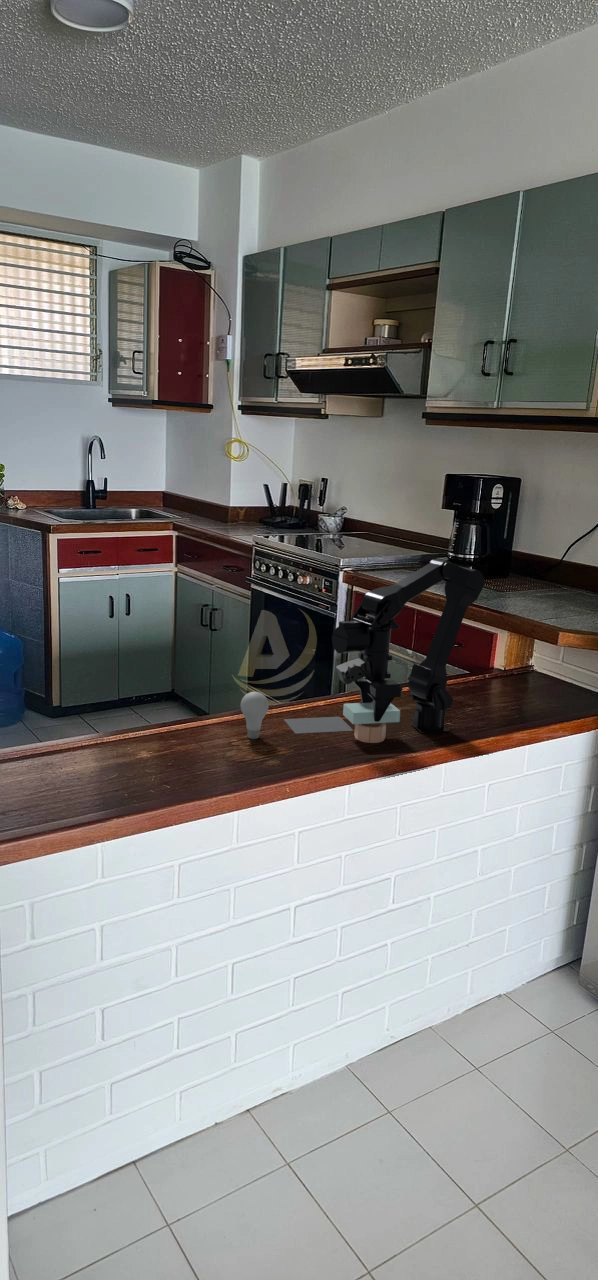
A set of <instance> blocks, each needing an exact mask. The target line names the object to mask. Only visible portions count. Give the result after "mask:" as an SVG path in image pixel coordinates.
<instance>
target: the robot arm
mask: <svg viewBox="0 0 598 1280" xmlns="http://www.w3.org/2000/svg"><path fill="white" fill-rule="evenodd" d="M485 580H486V579H485V578H484V575H483V573H482V572H481V571H480V570H478V569H474V568H469V567H465V566H460V565H459V566H458V565H456V564H454V563H452V562H451V561H449V560H444V559H442V558H441V559H440V558H434V559H431V560H430V561H429V563H427V564H426V565H424V566H423V567H421V568H420V569H417V570H416V571H414V572H413V573H410V574H409V575H408V576H406V577H404V578H402V579H401V580H399V581H397V582H396V583H394V584H392V585H387V586H380V587H378V588H374V589H373V590H370V591H368V592H366V593H365V594H364V595H363V597H362V598H363V599H362V601H361V603H360V604H359V606H358V607H357V609H355V610H356V611H355V612H354V613H353V615H352V617H351V618H350V621H345V620H340V621H339V622H338V626H337V627H336V628H335V629H334V631H333V632H332V633H333V634H332V635H331V643H332V644H331V645H332V647H333V649H334V651H335V652H336V653H337V654H348V653H358V657H357V658H355V659H351V660H348V661H346V662H343V663H341V664H338V665H336V666H335V669H336V671H337V675H338V678H339V681H341V682H342V683H343V684H344V685H350V684H352V683H354V684H355V686H357V688H358V691H359V694H360V700H361V703H371V702H373V709H374V721H375V722H379V721H380V720H381V718H382V716H383V715H384V713H385V711H386V710H387V708H388V706H389V705H390V703H391V704H392V702H393V700H394V699H396V698H402V697H403V689H404V688H403V686H401V685H400V683H398V682H397V681H395V680H394V679H391V676H392V674H391V672H389V671H388V670H389V661H392V660H393V655H392V654H391V653H390V647H391V631H392V630H397V629H400V625H399V624H398V623H397V622H396V621H395V620H394V618H395V617H396V616H398V615H399V614H400V613H401V612H402V611H403V610H404V607H405V605H406V604H407V603H409V601H411V600H412V599H414V598H416V597H417V596H419V595H421V594H422V593H424V592H426V591H427V590H428V589H431V588H432V587H433V586H435V585H437V584H438V583H440V582H442V581H443V582H445V586H444V594H445V604H444V607H443V609H442V613H441V615H440V618H439V621H438V624H437V626H436V629H435V631H434V634H433V637H432V640H431V643H430V646H429V648H428V650H427V653H426V657H425V659H424V660H423V661H421V662H420V663H419V664H417V663H413V665H412V668H411V671H410V674H409V676H408V677H407V680H408V683H407V688H408V689H409V692H410V694H411V700H412V701H414V702H416V707H415V708H414V709H413V720H412V722H411V726H412V727H413V728H415V729H416V730H417V731H419V732H420V734H441V733H447V732H448V730H447V728H445V723H446V712H447V711H446V710H447V709H451V708H452V704H453V702H454V698H453V697H452V696H451V694H450V693H449V692H448V691H447V690H446V688H447V684H448V673H447V664H448V661H449V659H450V655H451V653H452V650H453V648H454V644H455V641H456V639H457V637H458V633H459V631H460V628H461V626H462V623H463V620H464V617H465V615H466V612H467V610H468V608H469V607H470V606H471V605H472V604H473V603H475V602H476V601H477V600H478V598H479V596H480V594H481V593H482V590H483V589H484V585H485Z"/></svg>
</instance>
